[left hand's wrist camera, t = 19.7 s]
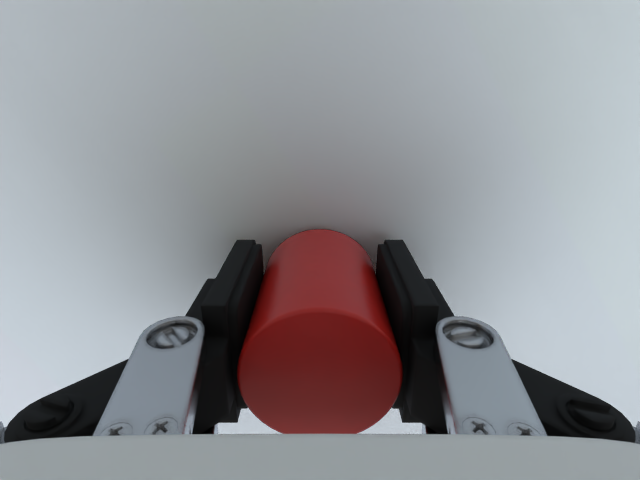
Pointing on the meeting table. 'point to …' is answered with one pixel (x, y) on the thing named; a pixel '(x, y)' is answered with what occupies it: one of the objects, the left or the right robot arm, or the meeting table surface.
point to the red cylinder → (319, 340)
